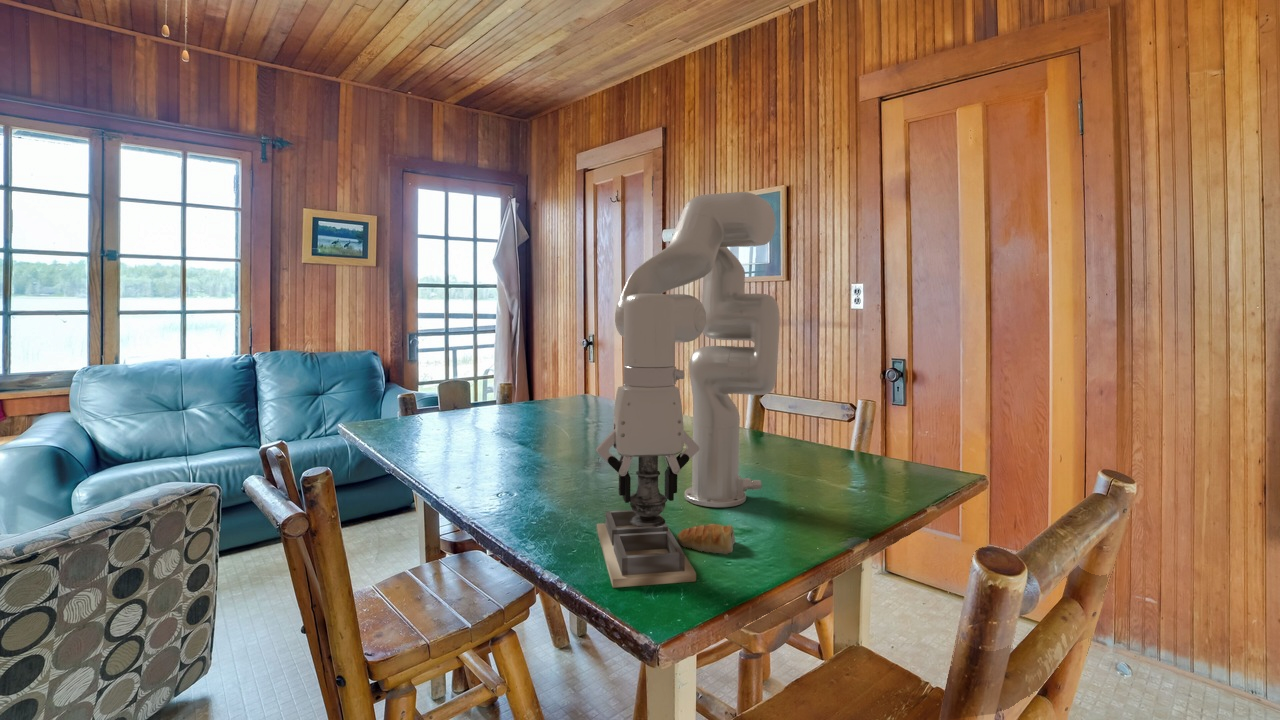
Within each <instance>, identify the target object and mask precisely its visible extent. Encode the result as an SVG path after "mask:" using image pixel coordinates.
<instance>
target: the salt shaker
mask: <svg viewBox="0 0 1280 720" xmlns="http://www.w3.org/2000/svg"><path fill="white" fill-rule="evenodd" d="M658 468H659V456H642V457H638V470H637V471H636V472H635V474H636V475H637V488H636V492H635V493H632V494H630V502H629V505H630V508H631V510H633V511H634V513H635V514H637V515H636V516H634V517H632V518H631V519H630V523H631V524H632V525H634V526H637V527H643V528H654V527H659V526H662V525H664V524H665V523H666V520H665V518H664V517H663V516H662V515H661V513H662V512H664V510H665V508H666V502H667V501H668V498H667V497H666V496H665V494H662V493H661V492H660V489H659V476H660V475H661V471H659V469H658ZM659 514H660V515H661V516H662V517H661V516H659Z"/></svg>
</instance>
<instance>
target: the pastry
mask: <svg viewBox="0 0 1280 720" xmlns="http://www.w3.org/2000/svg"><path fill="white" fill-rule="evenodd" d="M676 537H677V542H678V544H679V545H680V546H682V547H683V548H686V547H687V549H691V548H692V550H694V551H697V552H700V551H701V553H704V552H705V553H709V552H713V553H712V554H716V553H723V554H722V555H729V554H728V553H730V552H731V553H733V550H734V549H733V548H734V547H733V546H734V545H735V542H736V537H735V533H734V527H733V526H732V525H731V524H728V525H722V524H717V523H716V524H715V523H709V524H707V525H705V524H701V525H698V526H696V525H694V526H692V527H688V528H684V529H683V530H681V531H680V532H679V533H678V534H677V536H676ZM702 551H704V552H702ZM731 553H730V554H731Z"/></svg>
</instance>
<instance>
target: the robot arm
mask: <svg viewBox="0 0 1280 720" xmlns="http://www.w3.org/2000/svg"><path fill="white" fill-rule="evenodd" d="M775 230H776V216H775V212H774V210H773V207H772V206H771V203H769V202H768V201H767V200H765V199H764V198H763V197H761V196H759V195H758V194H755V193H752V192H747V191H737V192H723V193H721V192H720V193H709V194H708V193H707V194H700V195H697V196H695V197H693V198H691V199H690V200H688V201H687V203H686V204H685V206H684V207H683V209H682V212H681V215H680V217H679V219H678V221H677V224H676V226H675V229H674V232H673V234H672V236H671V239H670V242H669V244H668V246H667V247H665V248H664V249H662V250H660V251H659V252H657V253H656V254H654V255H653V256H651V257H650V258H648V260H646V261H644V262H643V263H642V264H640V265H639V266H638V267H637V268H636V269H635V270H633V272H632V273H631V274H630V275H629V277H627V280H626V283H624V284H625V285H624V286H623V289H622V292H621V294H620V296H619V297H618V298H619V299H618V301H617V304H616V308H615V313H614V322H615V323H614V324H615V328H616V330H617V332H618V335H620V336H621V337H622V338H623V375H622V376H623V379H622V380H623V383H622V385H623V386H622V385H621V386H618V387H617V390H616V395H615V399H614V409H613V423H612V424H613V425H612V431H611V432H610V433H609V435H608V436H607V437H605V438H604V440H603V441H602V442H601V443H600V444H599V445H598V446H597V447H596V449H595V450H596V452H597V454H598V455H599V456H600V457H601V458H602V459H603V460H604V461H605V462H606V463H608V465H609V466H610V467H611V468H612V469H614V470H615V471H616V472H617V474H618V495H619V497H620V496H621V497H622V498H623V501H624V503H625V504H627V503H628V504H630V495H631V476H630V474H629V469H630V466H631V464H632V460H633V458H637V457H638V458H639V457H642V456H658V457H664V460H665V461H666V464H667V467H666V468H665V471H664V495H665V496H666V497H667V498H668V499H667V501H670V502H671V501H672V502H674V499H675V498H674V497H675V494H677V493H678V474H679V473H680V472H681V470H682V469H683V468H684V466H685V465H687V464H688V463H689V461H690V459H692V462H691V463H692V465H691V466H692V467H691V468H692V469H691V470H692V471H691V473H692V478H691V486H690V487H688V488H686V489H685V490H684V499H685V500H686V501H688V502H689V503H691V504H694V505H698V506H701V507H708V508H730V507H736V506H739V505H741V504H744V503H745V502H746V500H747V493H746V492H747V490H752V491H753V490H761V489H762V485H763V484H762V480H761V479H753V480H752V479H751V478H750V477H749V478H748V477H747V478H743V477H741V476H740V474H739V473H740V469H739V468H740V430H741V429H740V427H741V426H740V425H741V422H740V421H741V415H740V412H739V409H738V407H737V406H736V404H735V402H734V401H733V400H732V397H730V395H748V396H749V395H750V396H765V395H768V394H770V393H771V392H772V391H773V390H774V388H775V386H776V381H777V373H778V357H779V342H780V328H781V327H780V323H781V322H780V321H781V320H780V319H781V318H780V317H781V316H780V308H779V305H778V302H777V300H776V299H775V297H774V296H772V295H769V294H768V293H767V294H766V293H745V281H746V280H745V277H746V271H745V269H744V267H743V265H742V263H741V262H740V260H739V259H738V258H737V257H736V255H735V254H734V253H733V252H732V251H731V250H730V249H729V248H730V247H732V248H733V247H758V246H765V245H768V243H770V242H771V241H772V239H773V236H774V235H775ZM728 247H729V248H728ZM702 278H703V281H702V283H703V284H702V294H701V296H702V297H701V301H700V300H699V299H698V298H697V297H695V296H693V295H691V294H683V293H682V294H680V293H678V294H676V293H674V294H673V293H670V294H668V293H667V294H666V292H669V291H671V290H673V289H674V290H675V289H676V288H680V287H683V286H686V285H688V284H690V283H692V282H693V283H694V282H696V281H698V280H700V279H702ZM702 334H703V335H704V336H705V337H706V338H708V339H710V340H711V339H712V340H719V341H721V340H722V341H742V342H744V341H746V342H747V341H748V342H749V341H750V342H753V344H754V345H753V346H734V345H708V346H707V345H706V346H702V347H699V348H698V349H696V350H695V351H693V352H692V353H691V355H690V358H689V361H688V371H689V373H688V374H689V379H690V380H689V381H690V385H691V386H690V387H691V392H692V394H691V395H692V438H691V437H690V436H689V434H688V433H687V432H686V431H685V429H684V417H683V404H682V398H681V395H680V389H679V387H678V386H676V385H677V381H679V380H684V379H685V370H683V369H682V370H680V369H677V366H675V363H676V362H675V361H676V352H675V351H676V343H690V342H693V341H695V340H697V338H699V337H700V336H701V335H702ZM684 445H685V449H684ZM612 447H613V448H614V449H615V451H616V453H617V454H618V455H619V456H620V457H619V459H618V458H617V457H616V456H614V454H612V453H611V452H610V449H611V448H612ZM676 455H677V456H676Z"/></svg>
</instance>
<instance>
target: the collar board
mask: <svg viewBox="0 0 1280 720" xmlns="http://www.w3.org/2000/svg"><path fill="white" fill-rule="evenodd" d="M636 515H637V514H635V513H634V511H633V510H632V509H623V510H606V511H605V523H603V522H602V523H596V532H597V537H598V540H599V544H600V547H601V550H602V555H603V558H604V562H605V565H606V569H607V573H608V576H609V579H610V583H611V586H612V587H611V588H612V589H613V588H615V589H616V588H624V587H625V588H626V587H638V586H639V587H641V586H654V585H665V584H677V583H679V584H680V583H692V582H696V581H697V572H696V571H695V569H694V567H693V565H692V564H691V562H690V560H689V559H688V558H687V555H686V554H685V552H684V550H683V548H682V547H681V545H680V543H679V541H678V540H677V539H676V537H675V536H674V534H673V532H672V531H671V529H670V528H669V527H668V525H667V522H665V524H664V525H662V526H659V527H654V528H643V527H637V526H634V525H632V524H631V523H630V519H631V518H632V517H634V516H636ZM659 516H661V517H662V518H663V516H662V514H661V513H660V514H659Z"/></svg>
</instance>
